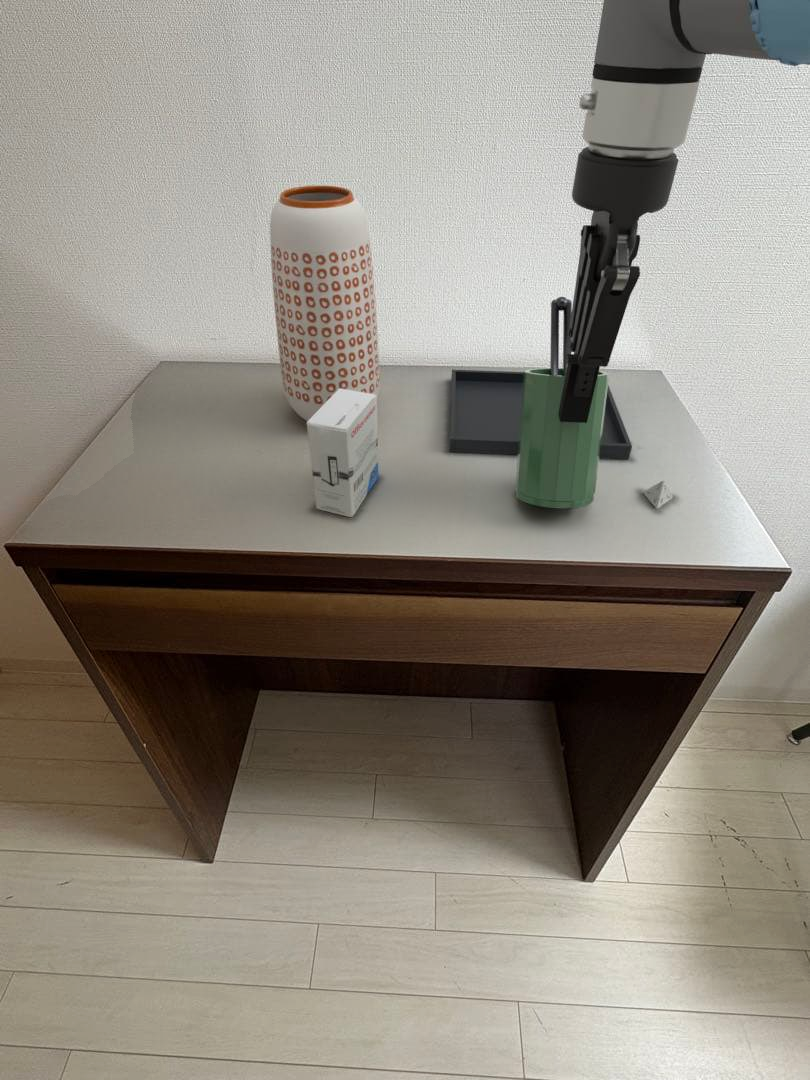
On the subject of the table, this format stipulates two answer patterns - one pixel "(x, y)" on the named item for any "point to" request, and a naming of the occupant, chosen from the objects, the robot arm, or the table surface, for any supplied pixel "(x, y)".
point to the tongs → (557, 306)
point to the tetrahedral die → (658, 494)
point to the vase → (323, 296)
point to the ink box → (344, 450)
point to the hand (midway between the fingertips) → (572, 418)
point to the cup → (557, 444)
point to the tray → (510, 415)
